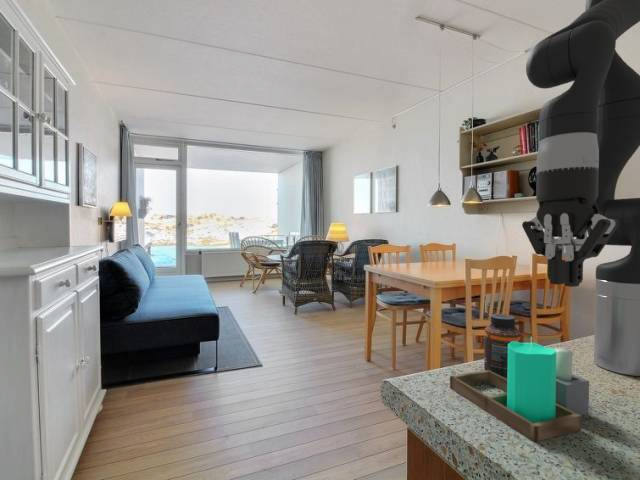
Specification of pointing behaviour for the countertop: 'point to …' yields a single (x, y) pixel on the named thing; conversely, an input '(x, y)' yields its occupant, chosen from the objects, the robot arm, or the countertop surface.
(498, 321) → the supplement bottle
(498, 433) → the countertop surface
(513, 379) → the candle
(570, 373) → the pale green rounded peg
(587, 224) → the robot arm
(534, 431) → the wooden tray
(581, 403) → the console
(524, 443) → the countertop surface
